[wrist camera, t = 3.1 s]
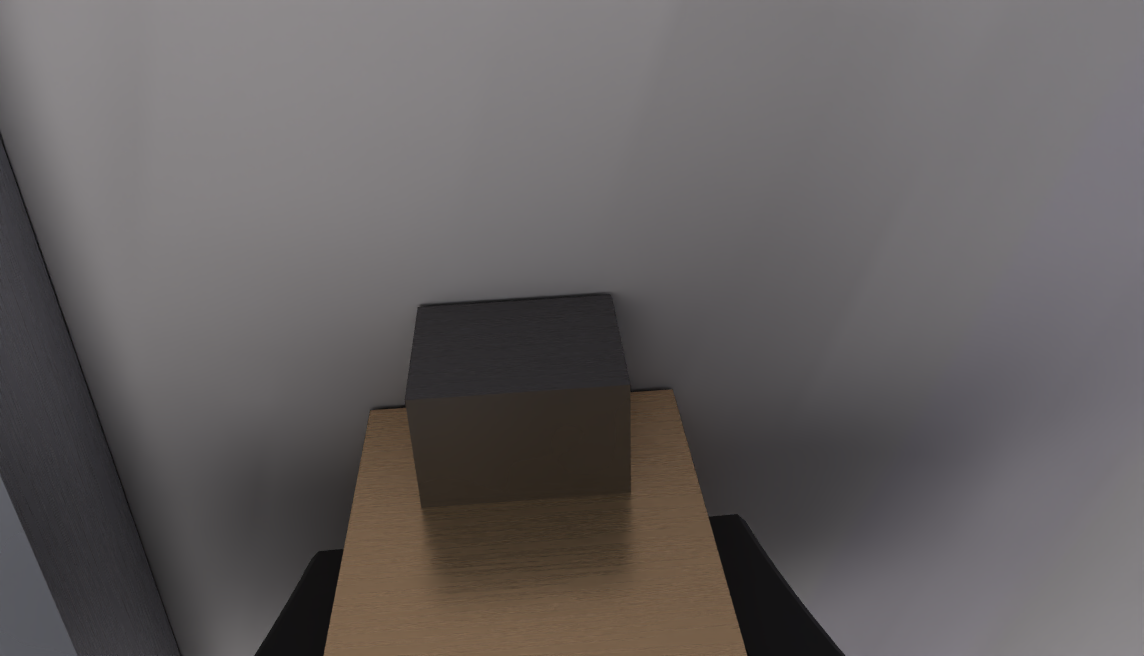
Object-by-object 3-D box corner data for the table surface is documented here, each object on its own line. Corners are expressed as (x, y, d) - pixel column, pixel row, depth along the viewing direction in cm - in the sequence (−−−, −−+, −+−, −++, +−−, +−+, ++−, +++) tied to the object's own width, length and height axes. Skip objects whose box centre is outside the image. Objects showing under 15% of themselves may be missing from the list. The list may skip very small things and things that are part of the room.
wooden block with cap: (675, 290, 12) (775, 587, 8) (667, 602, 15) (738, 947, 11) (352, 311, 12) (271, 626, 8) (407, 623, 15) (372, 981, 10)
